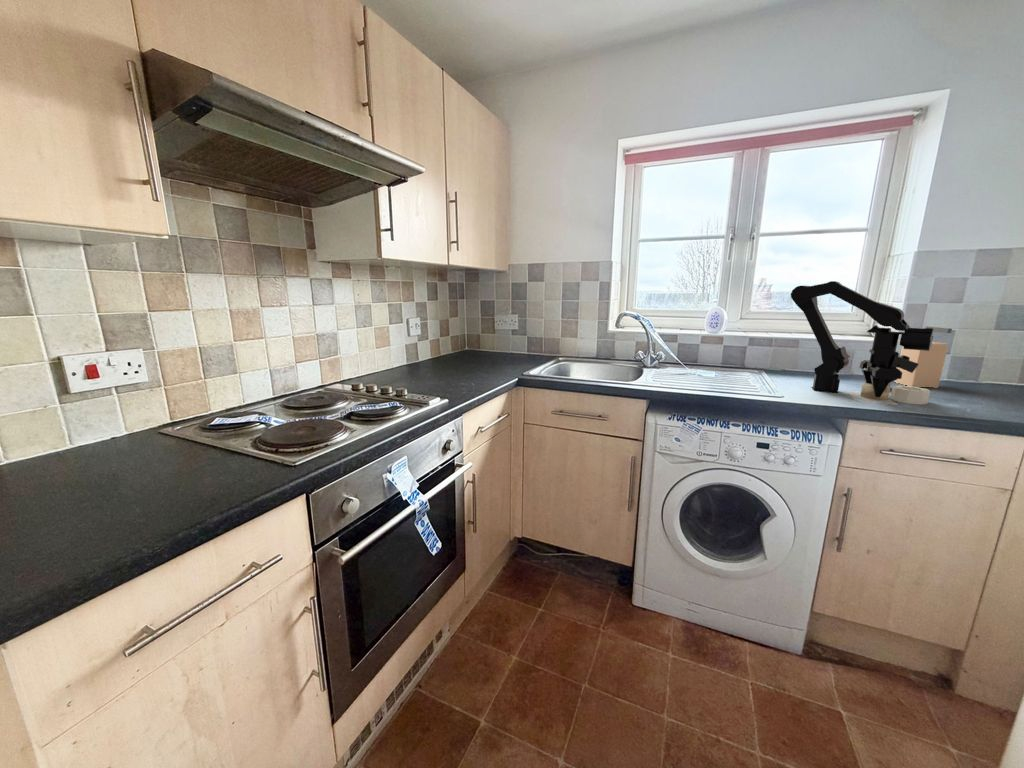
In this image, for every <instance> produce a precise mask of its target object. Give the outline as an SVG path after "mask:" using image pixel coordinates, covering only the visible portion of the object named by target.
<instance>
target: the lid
mask: <svg viewBox="0 0 1024 768" xmlns="http://www.w3.org/2000/svg"><path fill="white" fill-rule="evenodd" d="M860 392H861V395H860V396H861V397H864V398H868V399H875V400H888V398H889V395H890V393H891V385H890V386H887V387H886V388H885V390H884V392H883V393H882V395H881V397H875V393H874V389H873V385H872V383H865V382H864V383H862V385H861V391H860Z"/></svg>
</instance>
